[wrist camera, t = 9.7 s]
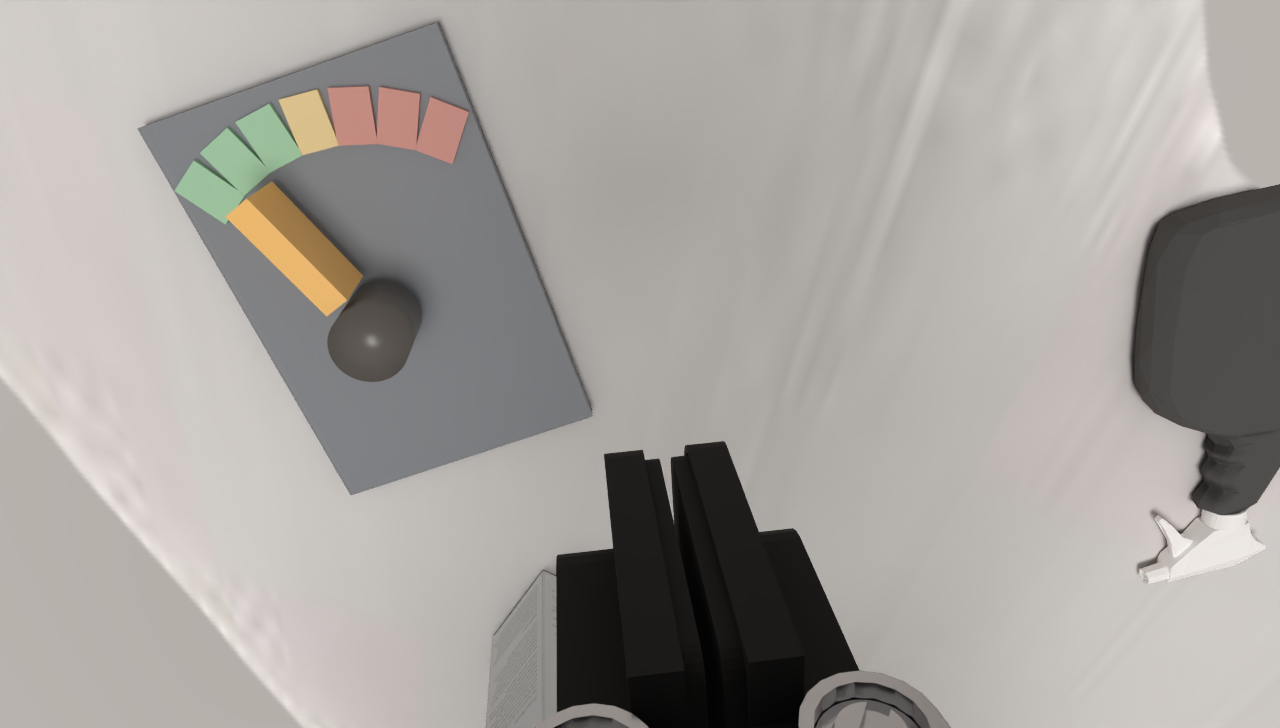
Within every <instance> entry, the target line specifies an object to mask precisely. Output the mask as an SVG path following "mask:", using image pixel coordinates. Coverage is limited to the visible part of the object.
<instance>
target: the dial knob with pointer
mask: <svg viewBox="0 0 1280 728" xmlns="http://www.w3.org/2000/svg"><path fill="white" fill-rule="evenodd" d="M226 218H227V219H228V220H229V221H230V222H231V223H232V224H233V225H234V226H235V227H236V228H237V229H238V230H239V231H240V232H241V233H242V234H243V235H244V236H245V237H246V238H247V239H248V240H249V241H250V242H251V243H252V244H254V245H255V246H256V247H257V248H258V249H259V250H260V251H261V252H262V253H263V254H264V255H265V256H266V257H267V258H268V259H269V260H270V261H271V262H272V263H273V264H274V265H275V266H276V267H277V268H278V269H279V270H280V271H281V272H282V273H283V274H284V275H285V276H286V277H287V278H288V279H289V280H290V281H291V282H292V283H293V284H294V285H295V286H296V287H297V288H298V289H299V290H300V291H301V292H302V293H303V294H304V295H305V296H306V297H307V298H308V299H309V300H310V301H311V302H312V303H313V304H314V305H315V306H316V307H317V308H318V309H319V310H321V311H322V312H323V313H324V314H325V315H326V316H328V315H329V314H331V313H332V312H333V311H334V310H336V309H337V308H338V307H340V306H341V305H342V304H343V303H345V302H346V301H347V300H348V299H349V297H350V296H351V294H352V293H353V291H354V289H355V288H356V286H357V285H358V283H359V282H360V280H361V279H362V277H363V275H362V274H361V273H360V272H359V271H358V270H357V269H356V268H355V267H354V266H353V265H352V264H351V263H350V262H349V261H348V260H347V258H346V257H345V256H344V255H343V254H342V253H341V252H340V251H339V250H338V249H337V248H336V247H335V246H334V245H333V244H332V243H331V242H330V241H329V240H328V239H327V238H326V237H325V236H324V235H323V234H322V233H321V232H320V230H319V229H318V228H317V227H316V226H315V225H314V224H313V223H312V222H311V221H310V220H309V219H308V218H307V217H306V216H305V215H304V214H303V213H302V212H301V211H300V210H299V209H298V208H297V207H296V206H295V205H294V204H293V203H292V201H291V200H290V199H289V198H288V197H287V196H286V195H285V194H284V193H283V192H282V191H281V190H280V189H279V188H278V187H277V186H276V185H275V184H274V183H273V182H272V181H271V182H270V183H269V184H267V185H266V186H264V187H263V188H261V189H260V190H258V191H257V192H256V193H254V194H253V195H251V196H250V197H248V198H247V199H246V200H244V201H243V202H242V203H241V204H240V205H239V206H237V207H236V208H235V209H234V210H233V211H231V212H230V213H229V214H228V215H227V216H226ZM421 321H422V313H421V308H420V305H419V303H418V301H417V299H416V298H415V296H414V295H413V294H412V293H411V292H410V291H409V290H408V289H406V288H405V287H403V286H402V285H400V284H397V283H395V282H391V281H385V280H378V281H372V282H369V283H366V284H364V285H362V286H361V287H359V288H358V289H357V290H356V291H355V292H354V293H353V295H352V296H351V298H350V299H349V301H348V302H347V304H346V305H345V307H344V309H343V310H342V312H341V313H340V315H339V316H338V318H337V319H336V321H335V322H334V324H333V325H332V327H331V329H330V331H329V334H328V339H327V346H328V351H329V354H330V357H331V359H332V360H333V362H334V363H335V365H336V366H337V367H338V368H339V369H340V370H341V371H342V372H343V373H345V374H346V375H348V376H350V377H352V378H354V379H357V380H360V381H365V382H379V381H384V380H387V379H389V378H391V377H393V376H394V375H396V374H397V373H398V372H400V370H401V369H402V368H403V367H404V365H405V363H406V361H407V359H408V356H409V354H410V351H411V349H412V346H413V344H414V341H415V338H416V336H417V333H418V331H419V328H420V325H421Z"/></svg>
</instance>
